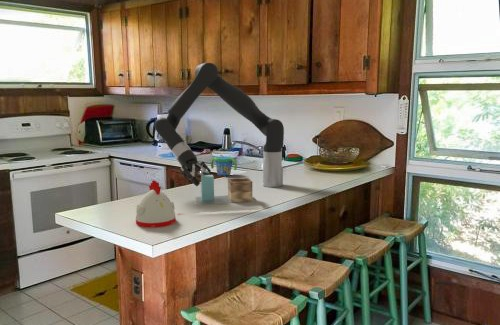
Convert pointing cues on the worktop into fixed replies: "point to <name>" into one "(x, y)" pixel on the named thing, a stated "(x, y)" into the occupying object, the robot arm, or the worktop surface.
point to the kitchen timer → (155, 208)
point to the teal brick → (207, 187)
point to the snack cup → (223, 165)
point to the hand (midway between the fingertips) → (204, 183)
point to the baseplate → (217, 200)
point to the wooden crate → (240, 189)
